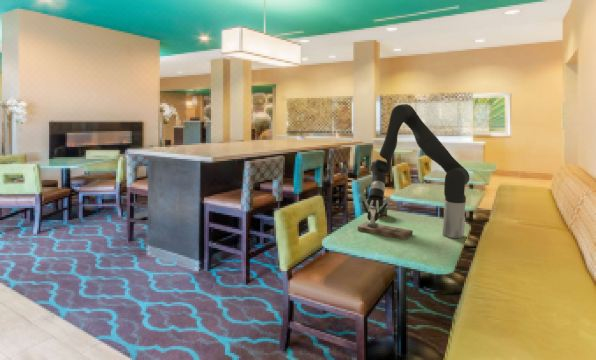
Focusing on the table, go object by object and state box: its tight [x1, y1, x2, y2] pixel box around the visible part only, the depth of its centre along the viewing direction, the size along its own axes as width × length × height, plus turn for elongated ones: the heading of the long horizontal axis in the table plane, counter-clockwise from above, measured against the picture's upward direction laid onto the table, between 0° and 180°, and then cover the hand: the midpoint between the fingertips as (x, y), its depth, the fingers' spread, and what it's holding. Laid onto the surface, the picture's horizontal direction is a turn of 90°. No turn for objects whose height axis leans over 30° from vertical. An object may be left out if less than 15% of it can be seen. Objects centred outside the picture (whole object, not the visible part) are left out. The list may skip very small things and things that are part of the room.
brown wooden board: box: [357, 221, 414, 241], centre depth 190 cm, size 25×10×2 cm, turn 55°
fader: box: [367, 206, 379, 227], centre depth 192 cm, size 4×4×10 cm
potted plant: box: [378, 196, 390, 218], centre depth 220 cm, size 12×6×10 cm, turn 143°
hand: (372, 219), depth 190 cm, fingers closed on fader, 2 cm apart
